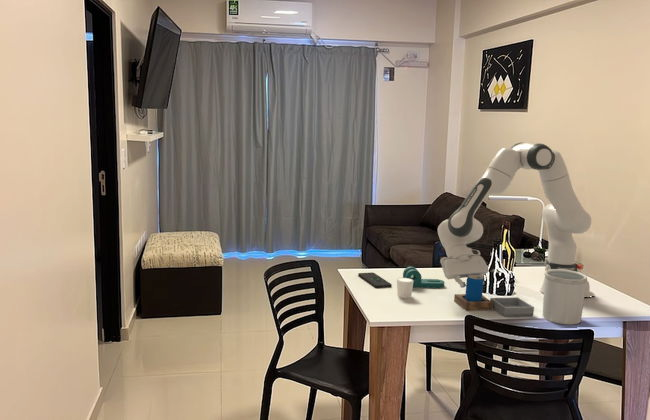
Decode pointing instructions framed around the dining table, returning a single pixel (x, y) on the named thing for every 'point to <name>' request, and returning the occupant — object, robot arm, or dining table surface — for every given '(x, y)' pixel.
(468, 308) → the walnut collar block
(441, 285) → the bracket
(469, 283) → the beverage can
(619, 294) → the dining table surface
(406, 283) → the shot glass
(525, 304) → the slate tray
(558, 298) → the utensil holder
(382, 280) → the smart home device
